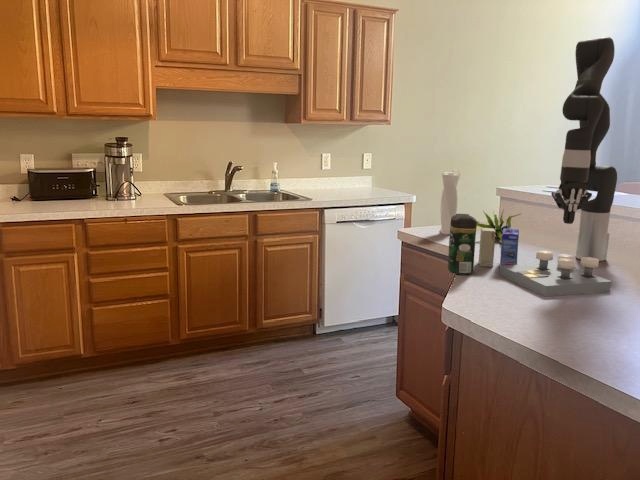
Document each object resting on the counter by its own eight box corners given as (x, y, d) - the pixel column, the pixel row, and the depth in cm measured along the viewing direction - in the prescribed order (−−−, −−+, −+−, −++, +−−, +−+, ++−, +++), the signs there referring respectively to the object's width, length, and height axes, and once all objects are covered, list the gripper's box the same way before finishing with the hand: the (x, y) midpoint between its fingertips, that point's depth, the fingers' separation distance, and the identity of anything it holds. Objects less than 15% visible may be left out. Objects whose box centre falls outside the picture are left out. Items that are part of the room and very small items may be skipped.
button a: (565, 269, 178) (567, 254, 177) (576, 273, 173) (578, 257, 172) (552, 270, 177) (554, 254, 175) (563, 274, 172) (565, 258, 171)
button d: (566, 274, 166) (568, 257, 165) (577, 278, 161) (579, 261, 160) (552, 275, 165) (554, 258, 164) (563, 279, 160) (565, 262, 159)
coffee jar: (445, 267, 184) (449, 211, 180) (470, 268, 184) (474, 212, 180) (449, 275, 175) (453, 216, 171) (474, 276, 174) (479, 217, 170)
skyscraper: (459, 236, 236) (464, 169, 230) (440, 235, 236) (444, 169, 230) (455, 232, 244) (459, 167, 238) (436, 231, 244) (440, 167, 238)
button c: (544, 265, 175) (546, 250, 174) (554, 269, 171) (556, 253, 170) (531, 266, 174) (533, 250, 173) (541, 270, 170) (543, 254, 169)
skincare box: (493, 267, 185) (496, 231, 182) (479, 266, 186) (482, 230, 183) (491, 262, 191) (494, 227, 188) (478, 261, 192) (481, 227, 189)
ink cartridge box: (499, 262, 192) (503, 221, 189) (516, 264, 190) (520, 222, 187) (498, 269, 182) (502, 226, 179) (516, 271, 181) (520, 227, 178)
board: (559, 271, 182) (560, 261, 181) (610, 291, 161) (611, 280, 160) (500, 275, 176) (500, 264, 175) (544, 296, 155) (546, 285, 155)
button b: (588, 272, 168) (590, 256, 167) (600, 277, 164) (602, 260, 162) (575, 273, 167) (577, 257, 166) (587, 277, 162) (589, 261, 161)
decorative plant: (460, 246, 216) (463, 209, 213) (491, 235, 238) (494, 200, 235) (505, 254, 205) (509, 214, 201) (534, 241, 227) (537, 205, 224)
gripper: (585, 165, 169) (578, 221, 173) (548, 164, 166) (541, 221, 169) (603, 166, 162) (595, 225, 166) (564, 166, 159) (557, 225, 162)
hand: (568, 223), depth 168 cm, fingers closed
